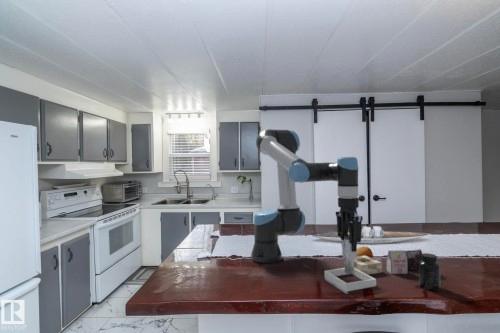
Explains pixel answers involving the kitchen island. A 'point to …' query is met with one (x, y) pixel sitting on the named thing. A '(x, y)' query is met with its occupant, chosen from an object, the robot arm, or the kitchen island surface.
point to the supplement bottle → (429, 272)
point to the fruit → (364, 252)
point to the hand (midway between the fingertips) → (349, 257)
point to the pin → (348, 263)
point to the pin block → (367, 265)
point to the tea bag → (397, 262)
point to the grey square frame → (343, 286)
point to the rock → (413, 259)
